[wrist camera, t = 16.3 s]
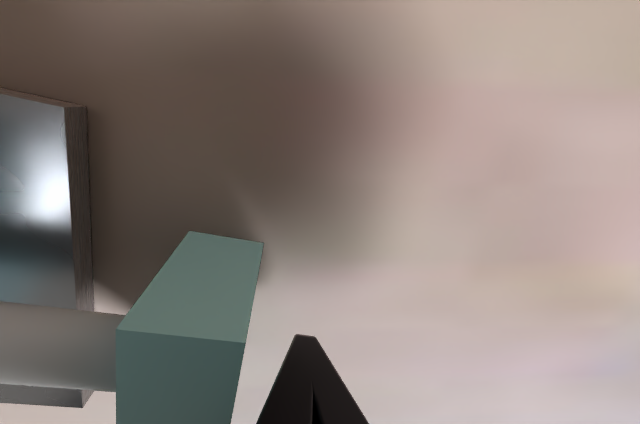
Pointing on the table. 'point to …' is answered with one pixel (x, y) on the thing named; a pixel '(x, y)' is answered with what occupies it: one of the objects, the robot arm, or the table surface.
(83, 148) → the bench vise
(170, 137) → the table surface
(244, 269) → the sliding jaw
